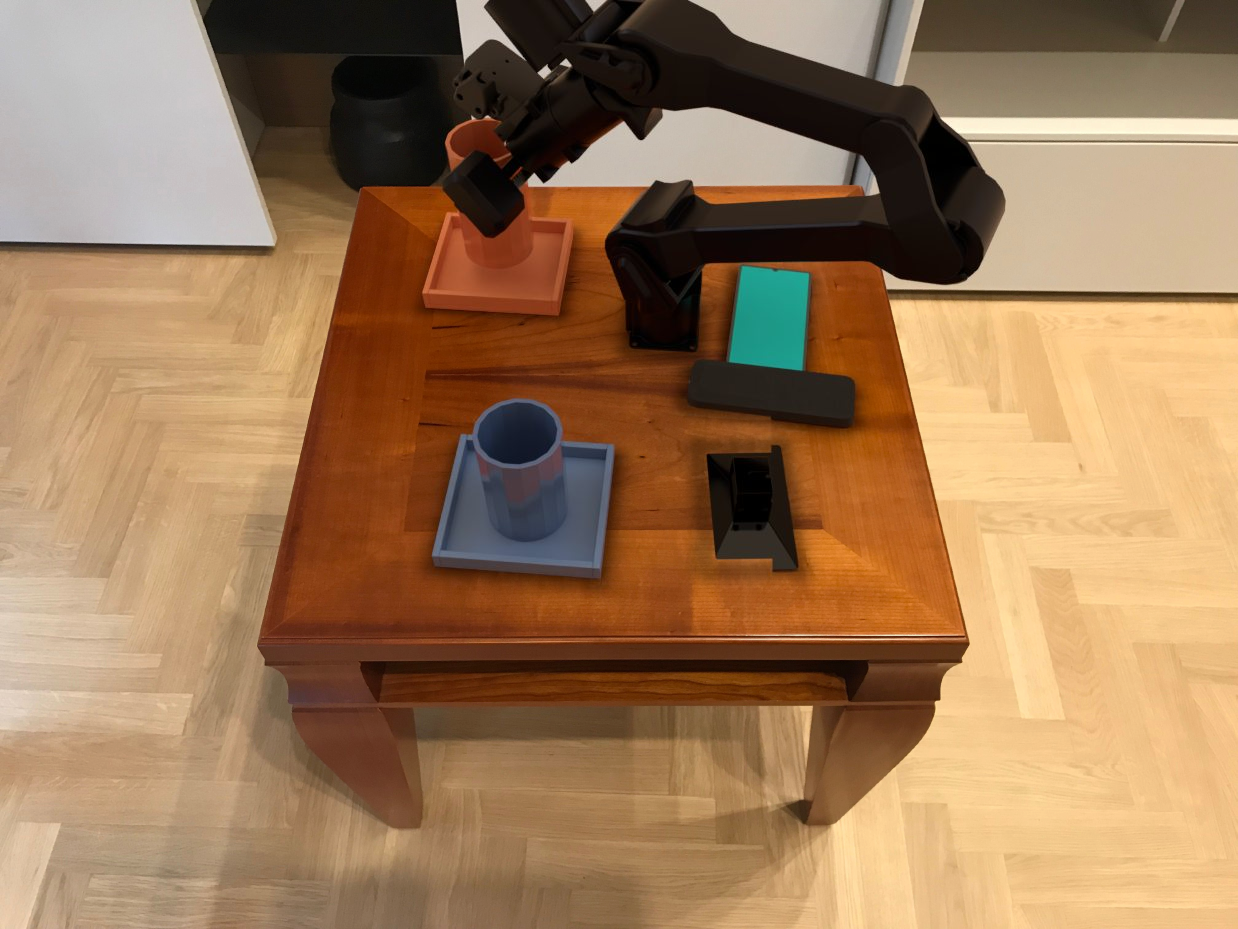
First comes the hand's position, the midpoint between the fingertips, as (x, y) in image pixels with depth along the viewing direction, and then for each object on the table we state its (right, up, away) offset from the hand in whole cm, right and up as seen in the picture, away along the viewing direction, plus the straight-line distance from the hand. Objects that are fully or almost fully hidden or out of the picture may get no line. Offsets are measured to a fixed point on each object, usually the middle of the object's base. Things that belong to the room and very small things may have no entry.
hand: (479, 186), depth 88 cm
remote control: (+27, -20, -3) cm, 34 cm away
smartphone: (+28, -13, +2) cm, 30 cm away
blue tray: (+6, -30, -10) cm, 32 cm away
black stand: (+24, -30, -10) cm, 39 cm away
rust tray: (+1, -6, +7) cm, 10 cm away
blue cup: (+6, -30, -11) cm, 32 cm away
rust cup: (+1, -4, +5) cm, 7 cm away
